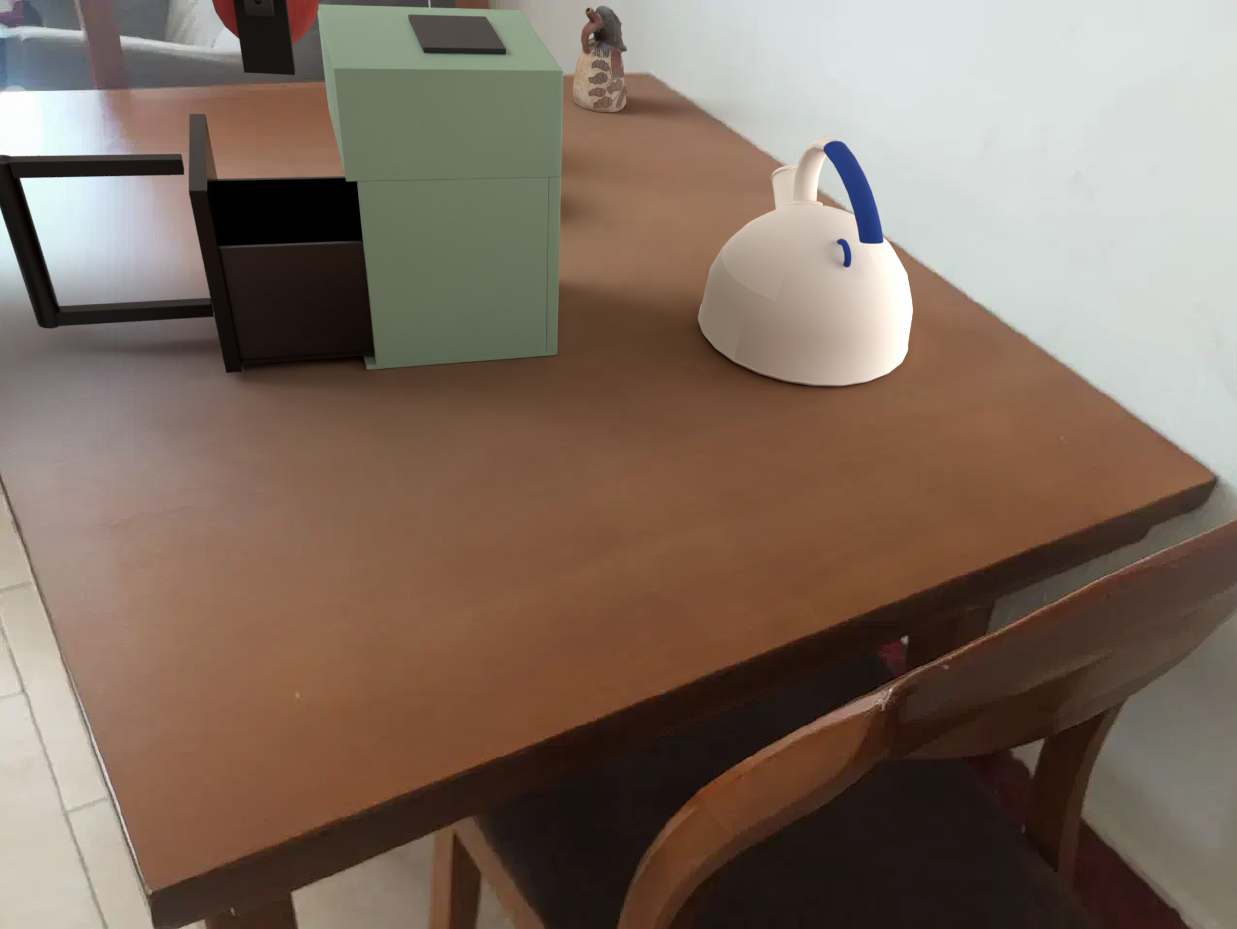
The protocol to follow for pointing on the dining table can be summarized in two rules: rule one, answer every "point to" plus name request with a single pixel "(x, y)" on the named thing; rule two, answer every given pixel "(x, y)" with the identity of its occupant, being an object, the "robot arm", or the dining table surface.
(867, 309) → the kettle
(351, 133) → the sage green appliance box
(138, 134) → the dining table surface
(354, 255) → the dark brown drawer
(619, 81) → the figurine
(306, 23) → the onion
